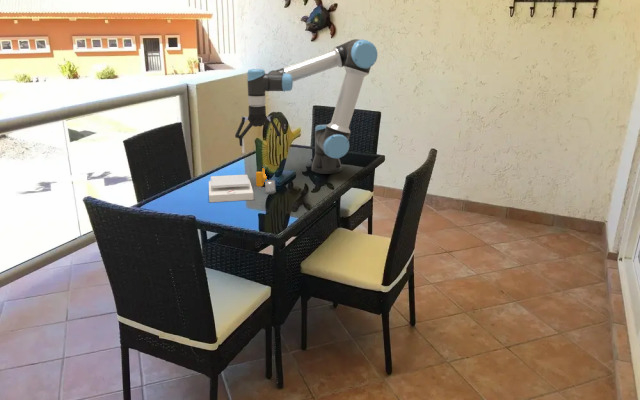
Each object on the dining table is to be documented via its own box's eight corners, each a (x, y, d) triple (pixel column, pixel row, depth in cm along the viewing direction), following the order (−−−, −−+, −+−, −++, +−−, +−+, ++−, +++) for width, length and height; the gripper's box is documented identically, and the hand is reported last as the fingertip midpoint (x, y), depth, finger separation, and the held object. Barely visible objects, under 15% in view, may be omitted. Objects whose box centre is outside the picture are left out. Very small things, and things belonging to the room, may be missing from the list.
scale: (249, 185, 224) (249, 173, 223) (253, 199, 206) (253, 187, 204) (209, 187, 221) (208, 175, 219) (209, 202, 202) (208, 189, 201)
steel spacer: (274, 190, 217) (274, 179, 216) (276, 193, 213) (275, 182, 212) (264, 191, 217) (264, 180, 215) (265, 194, 213) (265, 183, 211)
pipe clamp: (260, 178, 235) (260, 165, 233) (269, 179, 234) (268, 166, 232) (252, 186, 224) (252, 172, 222) (261, 186, 223) (261, 173, 221)
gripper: (283, 103, 223) (284, 149, 230) (227, 104, 218) (230, 151, 225) (286, 105, 216) (286, 153, 223) (228, 107, 211) (231, 155, 218)
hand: (258, 152), depth 224 cm, fingers open, 13 cm apart
